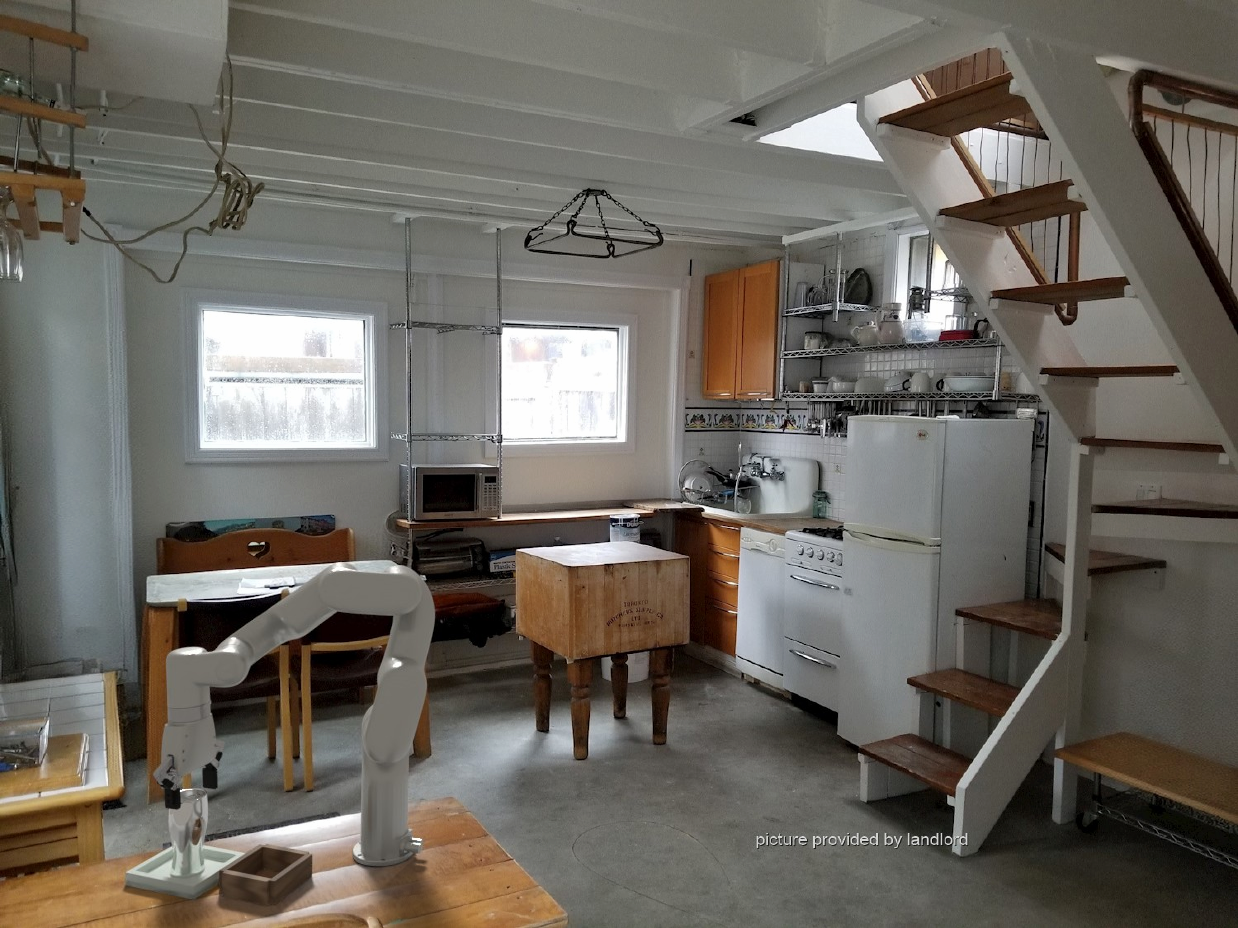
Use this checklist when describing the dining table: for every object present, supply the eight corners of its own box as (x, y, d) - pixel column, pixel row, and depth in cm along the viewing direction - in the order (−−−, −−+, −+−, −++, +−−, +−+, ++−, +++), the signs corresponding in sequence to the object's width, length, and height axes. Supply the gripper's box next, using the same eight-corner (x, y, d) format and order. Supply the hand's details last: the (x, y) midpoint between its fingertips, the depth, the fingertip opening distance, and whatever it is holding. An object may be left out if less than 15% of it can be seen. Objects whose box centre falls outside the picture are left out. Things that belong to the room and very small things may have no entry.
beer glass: (191, 880, 169) (192, 803, 169) (159, 876, 171) (160, 799, 170) (215, 863, 176) (215, 789, 176) (184, 859, 178) (185, 785, 177)
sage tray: (245, 865, 178) (245, 852, 178) (193, 899, 165) (193, 886, 165) (181, 852, 183) (181, 840, 183) (125, 884, 169) (125, 872, 169)
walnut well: (313, 875, 175) (314, 852, 175) (272, 906, 163) (272, 882, 163) (261, 864, 178) (261, 842, 178) (216, 894, 167) (217, 871, 166)
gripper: (206, 697, 182) (208, 778, 183) (138, 724, 166) (141, 814, 166) (236, 700, 180) (238, 782, 181) (170, 728, 163) (173, 819, 164)
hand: (192, 797), depth 173 cm, fingers open, 9 cm apart
